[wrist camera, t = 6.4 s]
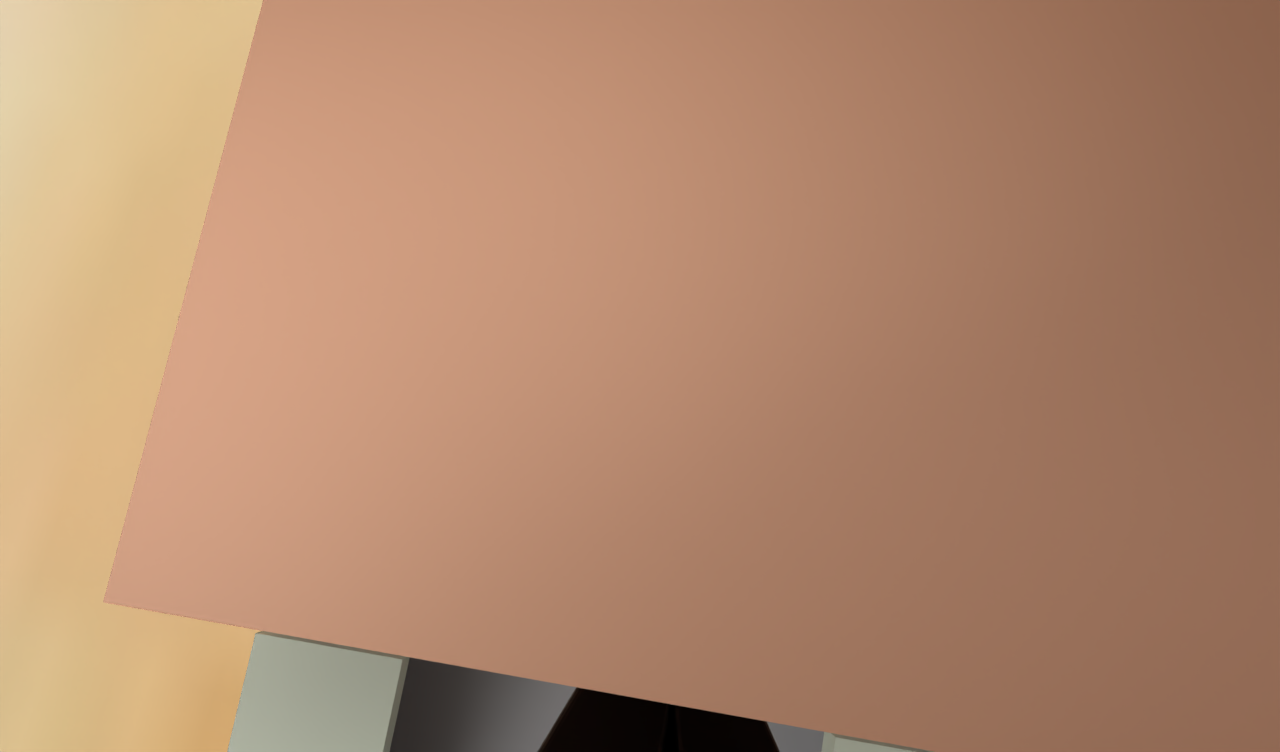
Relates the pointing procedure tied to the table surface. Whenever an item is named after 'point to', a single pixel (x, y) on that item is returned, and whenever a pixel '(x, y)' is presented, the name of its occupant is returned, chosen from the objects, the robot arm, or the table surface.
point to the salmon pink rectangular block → (749, 360)
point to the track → (416, 705)
